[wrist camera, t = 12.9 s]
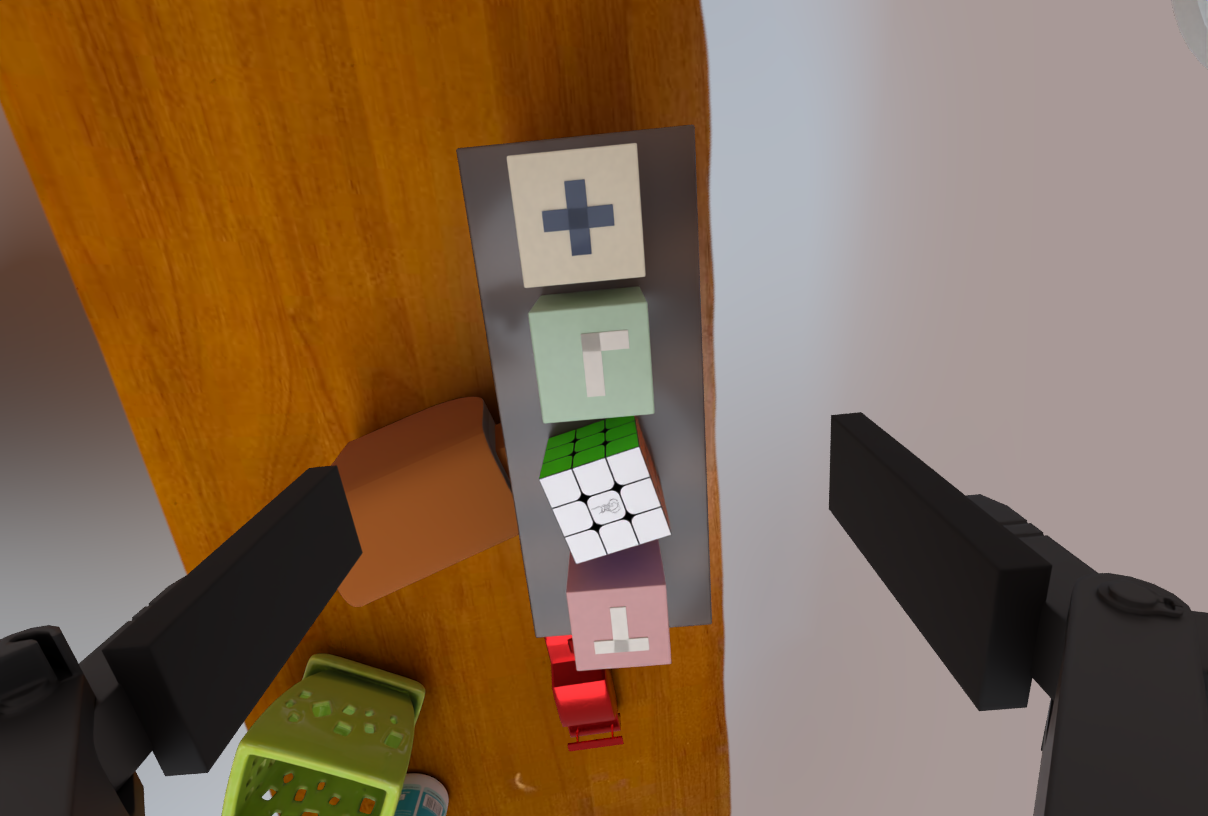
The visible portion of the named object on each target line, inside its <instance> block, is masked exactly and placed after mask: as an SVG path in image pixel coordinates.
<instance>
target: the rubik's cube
mask: <svg viewBox="0 0 1208 816" xmlns="http://www.w3.org/2000/svg"><path fill="white" fill-rule="evenodd" d="M539 481H540V484H541V486H542V488H543V490H544V493H545V495H546V497H547V500H548V502H549V504H550V506H551V508H552V511H553V513H554V515H555V518H556V520H557V522H558V525H559V527H560V529H561V531H562V534H563V536H564V538H565V541H566V543H567V545H568V547H569V550H570V552H571V554H572V556H573V559H574V561H575V563H576V564H579V563H582V562H585V561H589V560H592V559H595V558H598V557H602V556H605V555H607V554H611V553H615V552H618V551H621V550H624V549H628V548H631V547H634V546H637V545H639V544H640V545H641V544H644V543H647V542H650V541H654V540H657V539H660V538H663V537H666V536H670V535H672V533H671V528H670V523H669V519H668V514H667V510H666V505H665V500H664V496H663V491H662V487H661V484H660V481H659V478H658V476H657V473H656V470H655V467H654V465H653V462H652V459H651V456H650V453H649V451H648V448H647V445H646V442H645V440H644V437H643V434H642V431H641V429H640V426H639V423H638V420H637V417H636V416H624V417H613V418H608V419H605V420H602V421H599V422H596V423H593V424H590V425H587V426H584V427H581V428H578V429H576V430H573V431H570V432H567V433H564V434H561V435H558V436H555V437H552V438H549V439H548V442H547V446H546V450H545V455H544V459H543V463H542V467H541V472H540V476H539Z"/></svg>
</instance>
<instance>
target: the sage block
mask: <svg viewBox="0 0 1208 816" xmlns="http://www.w3.org/2000/svg"><path fill="white" fill-rule="evenodd" d="M528 317H529V324H530V331H531V339H532V346H533V353H534V361H535V368H536V375H537V383H538V390H539V397H540V405H541V412H542V419H543V423H556V422H567V421H579V420H590V419H602V418H613V417H624V416H636V415H647V414H654V412H655V408H654V393H653V378H652V363H651V348H650V333H649V317H648V303H647V301H646V299H645V297H644V295H643V293H642V291H641V289H640V287H638V286H637V287H626V288H615V289H605V290H594V291H583V292H573V293H562V294H551V295H541V296H540V297H539V299H538V300H537V302H536V303H535V304H534V306H533V307H532V309H531V310H530V312H529V313H528Z"/></svg>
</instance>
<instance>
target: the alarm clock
mask: <svg viewBox="0 0 1208 816" xmlns="http://www.w3.org/2000/svg"><path fill="white" fill-rule="evenodd" d="M335 465H337V467H338V470H339V474H340V477H341V481H342V484H343V487H344V491H345V494H346V498H347V501H348V504H349V508H350V511H351V515H352V518H353V521H354V525H355V528H356V532H357V535H358V538H359V542H360V545H361V549H362V552H363V553H362V555H361V556H360V558H359V559H358V560H357V562H356V563H355V565H354V566H353V567H352V569H351V570H350V572H349V573H348V575H347V576H346V577H345V579H344V580H343V582H342V583H341V585H340V586H339V587H338V589H337V590H338V591H339V593H340V594H341V596H342V597H343V598H344V599H345V601H346V602H348V603H349V604H350V605H352V606H354V607H361V606H363V605H366V604H368V603H370V602H372V601H374V600H377V599H379V598H381V597H383V596H385V595H387V594H390V593H392V592H394V591H396V590H398V589H401V588H403V587H405V586H407V585H409V584H411V583H414V582H416V581H418V580H420V579H422V578H425V577H427V576H429V575H431V574H433V573H435V572H438V571H440V570H442V569H444V568H446V567H449V566H451V565H453V564H455V563H457V562H459V561H462V560H464V559H466V558H468V557H470V556H473V555H475V554H477V553H479V552H481V551H483V550H486V549H488V548H490V547H492V546H494V545H497V544H499V543H501V542H503V541H505V540H508V539H510V538H512V537H514V536H516V535H518V534H519V532H518V526H517V520H516V513H515V507H514V501H513V495H512V489H511V483H510V477H509V471H508V464H507V458H506V452H505V446H504V440H503V434H502V428H501V423H499V424H497V425H496V424H495V422H494V420H493V418H492V416H491V414H490V412H489V410H488V408H487V406H486V404H485V402H484V400H483V399H482V398H480V397H475V396H474V397H464V398H459V399H455V400H451V401H447V402H444V403H441V404H438V405H435V406H433V407H430V408H428V409H425V410H423V411H420V412H418V413H415V414H413V415H411V416H408V417H406V418H404V419H401V420H399V421H397V422H395V423H392V424H390V425H388V426H385V427H383V428H381V429H378V430H376V431H374V432H372V433H369V434H367V435H365V436H362V437H360V438H358V439H355V440H353V441H351V442H349V443H348V444H347V445H346V446H345V448H344V449H343V450H342V452H341V453H340V454H339V456H338V457H337V458H336V460H335V461H334V462H333V464H332V465H331V466H335Z"/></svg>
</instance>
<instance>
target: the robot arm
mask: <svg viewBox="0 0 1208 816" xmlns="http://www.w3.org/2000/svg"><path fill="white" fill-rule="evenodd" d="M830 449H831V450H830V490H829V510H830V511H831V512H832V514H833V515H834V516H835V518H836V519H837V520H838V522H839V523H840V524H841V526H842V527H843V528H844V530H845V531H846V532H847V534H848V535H849V537H850V538H851V539H852V541H853V542H854V543H855V545H856V546H857V547H858V549H859V550H860V551H861V553H862V554H863V555H864V556H865V558H866V559H867V561H868V562H869V563H870V565H871V566H872V567H873V569H874V570H875V571H876V573H877V574H878V576H879V577H880V578H881V580H882V581H883V582H884V583H885V585H886V586H887V588H888V589H889V590H890V592H891V593H892V594H893V596H894V597H895V598H896V600H897V601H898V602H899V604H900V605H901V606H902V608H903V609H904V611H905V612H906V613H907V615H908V616H909V617H910V619H911V620H912V621H913V623H914V624H915V625H916V626H917V628H918V629H919V631H920V632H921V633H922V635H923V636H924V637H925V639H926V640H927V642H928V643H929V644H930V646H931V647H932V648H933V650H934V651H935V652H936V654H937V655H938V656H939V658H940V659H941V660H942V662H943V663H944V664H945V666H946V667H947V668H948V670H949V671H950V673H951V674H952V675H953V676H954V678H955V679H956V681H957V682H958V683H959V684H960V686H961V687H962V689H963V690H964V691H965V693H966V694H967V695H968V697H969V698H970V699H971V701H972V702H973V703H974V705H975V706H976V708H977V709H978V710H979V711H986V710H1000V709H1012V708H1025V707H1027V704H1028V698H1029V692H1030V687H1031V682H1032V678H1033V679H1034V680H1035V681H1036V682H1037V683H1038V684H1039V685H1040V687H1041V688H1042V689H1043V690H1044V691H1045V692H1046V693H1047V694H1048V695H1049V696H1050V698H1051V701H1050V706H1049V711H1048V717H1047V721H1046V726H1045V731H1044V736H1043V742H1042V746H1041V751H1042V758H1041V765H1040V772H1039V780H1038V786H1037V794H1036V800H1035V807H1034V814H1033V816H1208V613H1205V612H1196V611H1191V610H1190V608H1189V606H1188V605H1187V604H1186V603H1184V602H1183V601H1182V600H1181V599H1179V598H1178V597H1177V596H1175V595H1174V594H1173V593H1170V592H1169V591H1167V590H1164V589H1162V588H1160V587H1158V586H1156V585H1154V584H1152V583H1149V582H1146V581H1143V580H1139V579H1136V578H1133V577H1129V576H1123V575H1116V574H1111V573H1097V572H1096V571H1094V570H1093V569H1092V568H1090V567H1089V566H1088V565H1087V564H1085V563H1084V562H1082V561H1081V560H1080V559H1078V558H1077V557H1076V556H1074V555H1073V554H1071V553H1070V552H1069V551H1068V550H1066V549H1065V548H1064V547H1062V546H1061V545H1060V544H1058V543H1057V542H1055V541H1054V540H1052V539H1051V538H1050V537H1049V536H1044V535H1043V532H1042V531H1040V530H1039V529H1038V528H1037V527H1035V526H1034V525H1032V524H1031V523H1027V520H1026V519H1024V518H1023V517H1022V516H1020V515H1019V514H1018V513H1016V512H1015V511H1014V510H1012V509H1011V508H1010V507H1008V506H1007V505H1004V504H1002V503H999V502H997V501H995V500H992V499H990V498H988V497H985V496H983V495H981V494H978V495H968V496H965V495H964V494H963V493H962V492H960V491H959V490H958V489H957V488H955V487H954V486H953V485H952V484H950V483H949V482H948V481H947V480H945V479H944V478H943V477H941V476H940V475H939V474H938V473H937V472H935V471H934V470H933V469H931V468H930V467H929V466H928V465H926V464H925V463H924V462H923V461H921V460H920V459H919V458H918V457H916V456H915V455H914V454H913V453H911V452H910V451H909V450H908V449H907V448H905V447H904V446H903V445H902V444H900V443H899V442H898V441H896V440H895V439H894V438H893V437H891V436H890V435H889V434H888V433H886V432H885V431H884V430H883V429H881V428H880V427H879V426H878V425H876V424H875V423H874V422H873V421H871V420H870V419H869V418H868V417H866V416H865V415H864V414H863V413H861V412H860V413H850V414H839V415H831V446H830ZM362 553H363V552H362V549H361V545H360V542H359V538H358V535H357V532H356V528H355V525H354V521H353V518H352V515H351V511H350V508H349V504H348V501H347V498H346V494H345V491H344V487H343V484H342V481H341V477H340V474H339V470H338V467H337V465H335V466H325V467H315V468H309V469H308V470H306V471H305V472H304V473H303V474H302V475H301V476H300V477H298V478H297V479H296V480H295V481H294V482H293V483H292V484H290V485H289V486H288V487H287V488H286V489H285V490H284V491H282V492H281V493H280V494H279V495H278V496H277V497H276V498H274V499H273V500H272V501H271V502H270V503H269V504H268V505H266V506H265V507H264V508H263V509H262V510H261V511H260V512H258V513H257V514H256V515H255V516H254V517H253V518H252V519H250V520H249V521H248V522H247V523H246V524H245V525H244V526H242V527H241V528H240V529H239V530H238V531H237V532H236V533H234V534H233V535H232V536H231V537H230V538H229V539H228V540H226V541H225V542H224V543H223V544H222V545H221V546H220V547H218V548H217V549H216V550H215V551H214V552H213V553H212V554H211V555H209V556H208V557H207V558H206V559H205V560H204V561H203V562H201V563H200V564H199V565H198V566H197V567H196V568H195V569H193V570H192V571H191V572H190V573H189V574H188V575H186V576H185V577H183V578H181V579H180V580H178V581H176V582H175V583H173V584H171V585H170V586H168V587H167V588H166V589H165V590H164V591H162V592H161V593H160V594H159V595H158V596H157V597H156V598H154V599H153V600H152V601H151V602H150V603H149V606H148V607H144V608H143V609H142V610H140V611H139V613H137V614H136V615H135V616H133V617H132V621H128V622H127V623H125V624H124V625H123V626H122V627H121V628H120V629H118V630H117V631H116V632H115V633H114V634H113V635H112V636H110V638H108V639H107V640H106V641H105V642H103V643H102V644H101V645H100V646H99V647H98V648H96V649H95V650H94V651H93V652H92V653H91V654H90V655H88V656H87V657H86V658H85V659H84V660H83V661H81V662H80V663H79V664H78V662H77V660H76V658H75V656H74V654H73V652H72V651H71V649H70V647H69V645H68V643H67V641H66V639H65V637H64V635H63V634H62V631H61V630H60V628H59V627H56V626H50V625H47V626H41V627H35V628H30V629H27V630H24V631H21V632H18V633H15V634H12V635H9V636H7V637H5V638H3V639H0V816H145V807H144V788H143V785H142V783H141V781H140V779H139V777H138V775H137V773H136V770H137V768H138V767H139V766H140V765H141V763H142V762H143V761H144V760H145V759H146V758H147V756H148V755H149V754H150V753H151V752H152V751H153V753H154V755H155V757H156V759H157V761H158V763H159V765H160V767H161V769H162V770H163V773H164V775H165V776H173V775H186V774H198V773H208V772H209V770H210V769H211V767H212V766H213V765H214V763H215V762H216V760H217V759H218V758H219V756H220V755H221V753H222V752H223V750H224V749H225V748H226V746H227V745H228V743H229V742H230V740H231V739H232V738H233V736H234V735H235V733H236V732H237V731H238V729H239V728H240V726H241V725H242V724H243V722H244V721H245V719H246V718H247V716H248V715H249V714H250V712H251V711H252V709H253V708H254V707H255V705H256V704H257V702H258V701H259V699H260V698H261V697H262V695H263V694H264V692H265V691H266V689H267V688H268V687H269V685H270V684H271V682H272V681H273V680H274V678H275V677H276V675H277V674H278V672H279V671H280V670H281V668H282V667H283V665H284V664H285V663H286V661H287V660H288V658H289V657H290V655H291V654H292V653H293V651H294V650H295V648H296V647H297V646H298V644H299V643H300V641H301V640H302V638H303V637H304V636H305V634H306V633H307V631H308V630H309V628H310V627H311V626H312V624H313V623H314V621H315V620H316V619H317V617H318V616H319V614H320V613H321V611H322V610H323V609H324V607H325V606H326V604H327V603H328V602H329V600H330V599H331V597H332V596H333V594H334V593H335V592H336V590H337V589H338V587H339V586H340V585H341V583H342V582H343V580H344V579H345V577H346V576H347V575H348V573H349V572H350V570H351V569H352V567H353V566H354V565H355V563H356V562H357V560H358V559H359V558H360V556H361V555H362Z"/></svg>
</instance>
